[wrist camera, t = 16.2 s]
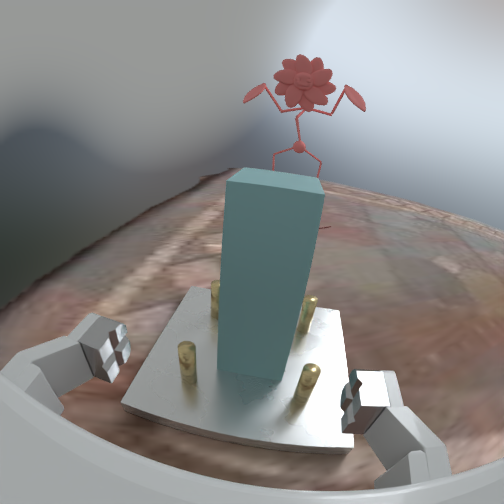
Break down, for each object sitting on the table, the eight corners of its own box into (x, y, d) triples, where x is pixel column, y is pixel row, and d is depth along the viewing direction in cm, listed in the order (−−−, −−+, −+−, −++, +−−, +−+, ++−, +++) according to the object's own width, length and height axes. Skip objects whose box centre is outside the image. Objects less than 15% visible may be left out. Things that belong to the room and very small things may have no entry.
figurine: (239, 196, 69) (253, 58, 53) (343, 216, 64) (366, 72, 49) (216, 215, 56) (232, 41, 40) (346, 241, 51) (376, 57, 35)
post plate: (336, 319, 29) (347, 282, 27) (347, 454, 15) (375, 422, 13) (191, 294, 31) (191, 257, 29) (124, 410, 16) (107, 371, 14)
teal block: (286, 338, 24) (318, 177, 18) (281, 380, 20) (324, 194, 14) (230, 328, 25) (244, 167, 18) (216, 369, 20) (226, 180, 14)
